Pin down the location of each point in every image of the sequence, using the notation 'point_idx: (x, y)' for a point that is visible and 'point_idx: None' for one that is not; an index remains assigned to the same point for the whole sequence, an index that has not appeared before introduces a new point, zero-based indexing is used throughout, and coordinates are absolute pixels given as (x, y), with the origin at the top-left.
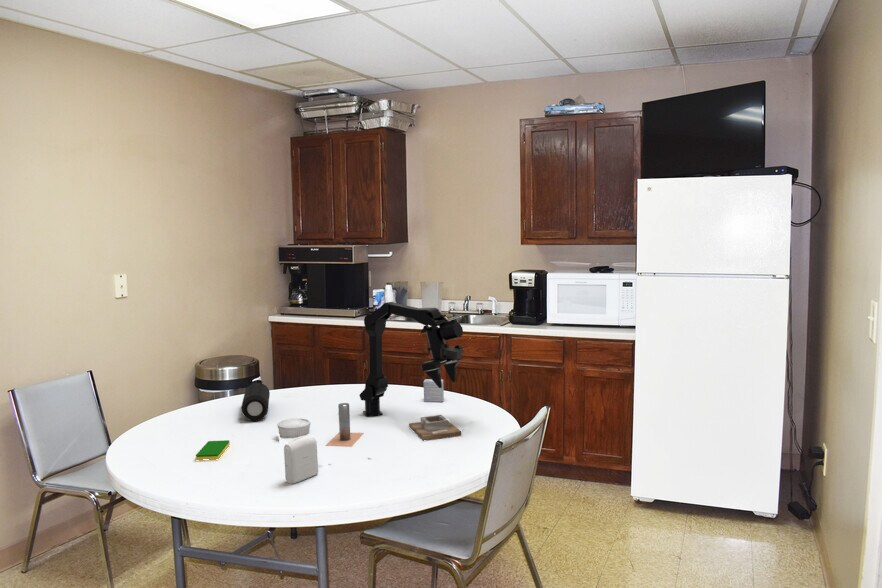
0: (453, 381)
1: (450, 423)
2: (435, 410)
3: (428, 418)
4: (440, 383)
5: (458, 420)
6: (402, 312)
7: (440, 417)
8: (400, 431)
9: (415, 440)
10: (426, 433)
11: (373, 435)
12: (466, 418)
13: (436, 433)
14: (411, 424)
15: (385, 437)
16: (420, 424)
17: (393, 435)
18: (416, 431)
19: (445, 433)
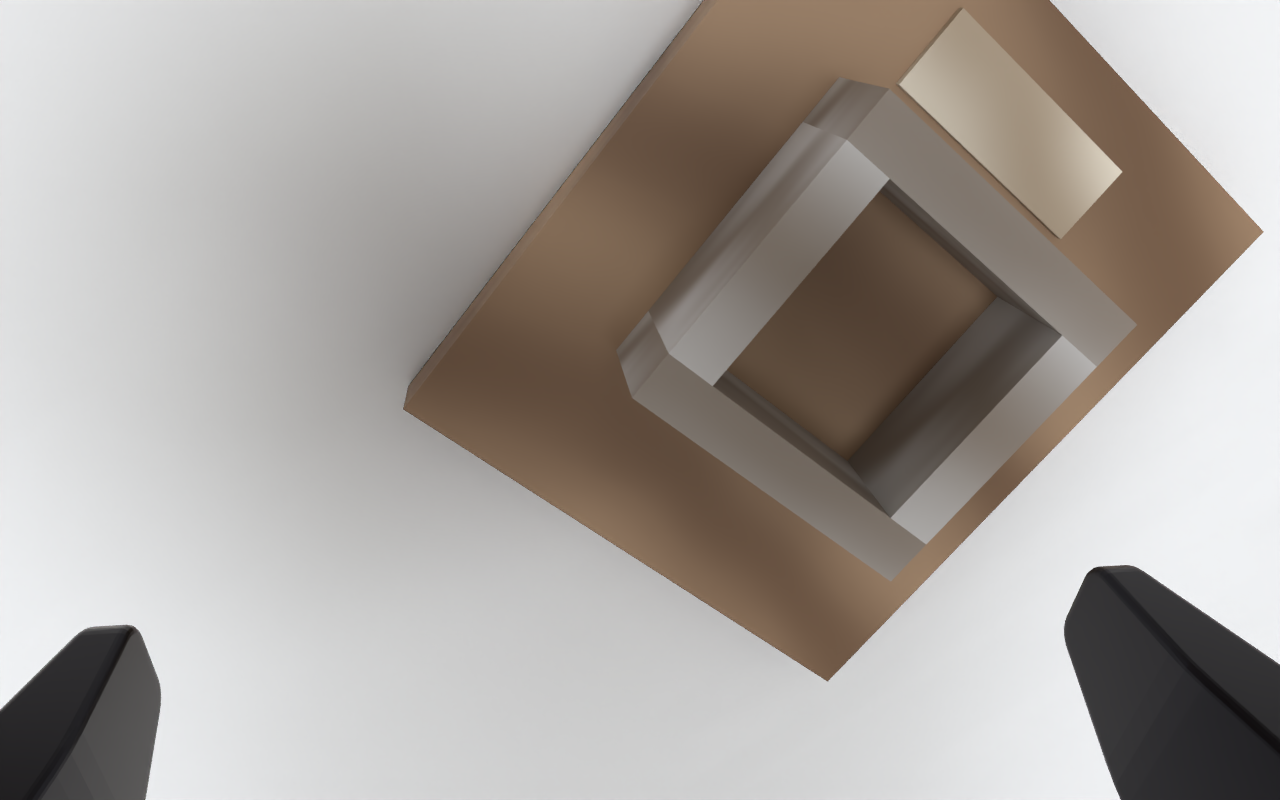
0: (144, 679)
1: (575, 208)
2: None
3: (842, 478)
4: (1277, 669)
5: (191, 278)
6: None
7: (759, 329)
8: (976, 641)
9: (1223, 314)
10: (1130, 264)
11: None
12: (12, 219)
13: (1090, 137)
14: (855, 634)
15: None
16: (809, 546)
17: None
18: (1044, 443)
19: (1051, 8)
